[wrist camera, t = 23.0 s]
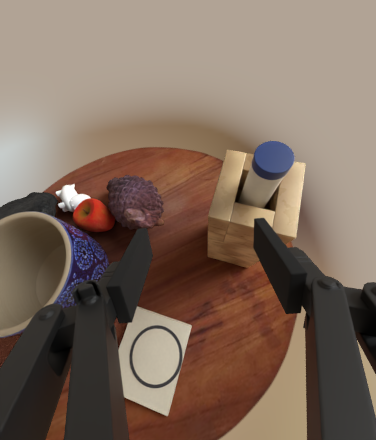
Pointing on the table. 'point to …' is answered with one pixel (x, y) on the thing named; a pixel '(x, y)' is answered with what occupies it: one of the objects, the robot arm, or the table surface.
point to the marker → (266, 173)
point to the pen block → (250, 211)
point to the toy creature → (70, 198)
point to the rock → (31, 205)
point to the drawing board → (152, 358)
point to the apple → (93, 216)
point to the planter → (42, 266)
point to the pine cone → (135, 202)
